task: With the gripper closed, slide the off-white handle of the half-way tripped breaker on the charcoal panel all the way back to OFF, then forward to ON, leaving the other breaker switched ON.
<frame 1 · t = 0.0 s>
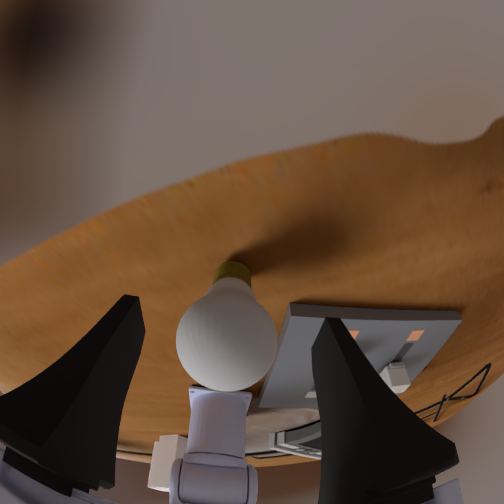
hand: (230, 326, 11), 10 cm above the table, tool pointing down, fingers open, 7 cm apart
light bulb: (233, 267, 22), on the table
breaker tripped: (394, 379, 26), point 3 cm above the table, slide at 3.0 cm
alarm clock: (331, 428, 44), on the table
white chamfered block: (178, 443, 49), on the table
panel: (355, 363, 29), on the table
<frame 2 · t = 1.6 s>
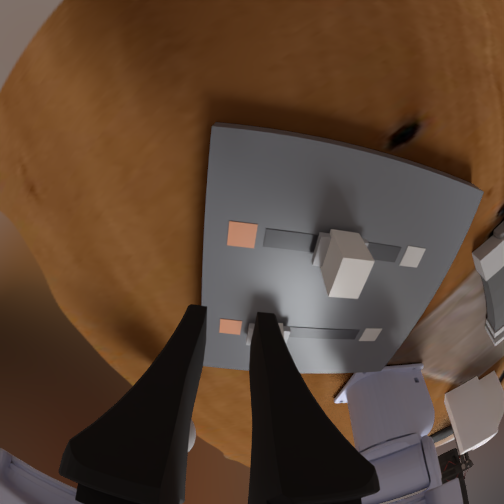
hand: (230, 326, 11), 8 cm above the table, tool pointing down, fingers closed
microphone: (441, 432, 53), on the table
breaker tripped: (344, 263, 15), point 3 cm above the table, slide at 3.0 cm
white chamfered block: (468, 387, 36), on the table
breaker on: (268, 348, 20), point 3 cm above the table, slide at 6.0 cm
panel: (329, 282, 20), on the table
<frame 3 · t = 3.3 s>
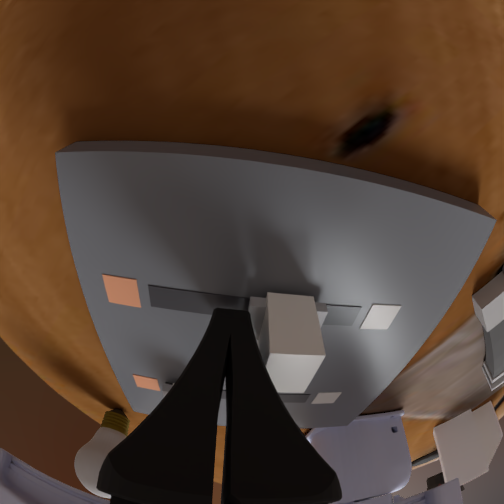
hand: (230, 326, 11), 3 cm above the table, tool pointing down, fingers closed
light bulb: (119, 408, 23), on the table
microphone: (432, 453, 48), on the table
breaker tripped: (286, 344, 10), point 3 cm above the table, slide at 1.9 cm, touching gripper
white chamfered block: (461, 418, 31), on the table
breaker on: (186, 414, 14), point 3 cm above the table, slide at 6.0 cm
panel: (264, 341, 15), on the table
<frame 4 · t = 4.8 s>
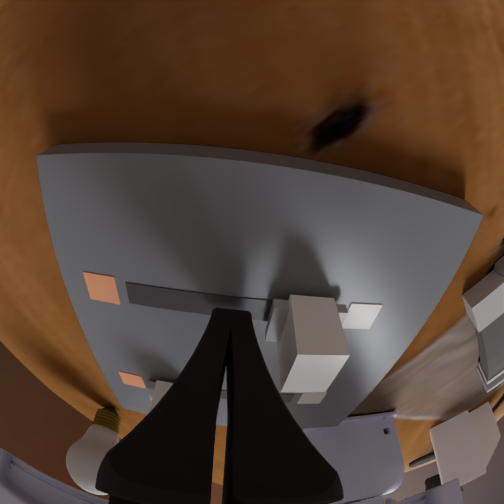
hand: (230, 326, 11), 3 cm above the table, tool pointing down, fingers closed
light bulb: (111, 406, 23), on the table
microphone: (431, 454, 48), on the table
breaker tripped: (308, 345, 10), point 3 cm above the table, slide at -0.1 cm
white chamfered block: (458, 419, 31), on the table
breaker on: (169, 411, 14), point 3 cm above the table, slide at 6.0 cm
panel: (245, 339, 15), on the table
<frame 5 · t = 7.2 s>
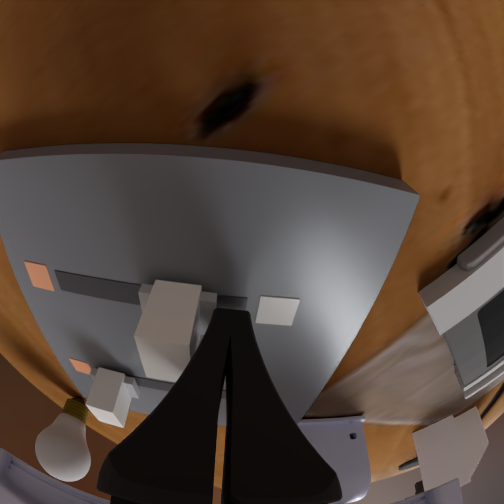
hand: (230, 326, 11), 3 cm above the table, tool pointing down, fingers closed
light bulb: (80, 397, 23), on the table
microphone: (421, 457, 47), on the table
breaker tripped: (172, 332, 10), point 3 cm above the table, slide at 1.2 cm, touching gripper
white chamfered block: (444, 423, 30), on the table
breaker on: (110, 398, 14), point 3 cm above the table, slide at 6.0 cm
panel: (175, 331, 15), on the table
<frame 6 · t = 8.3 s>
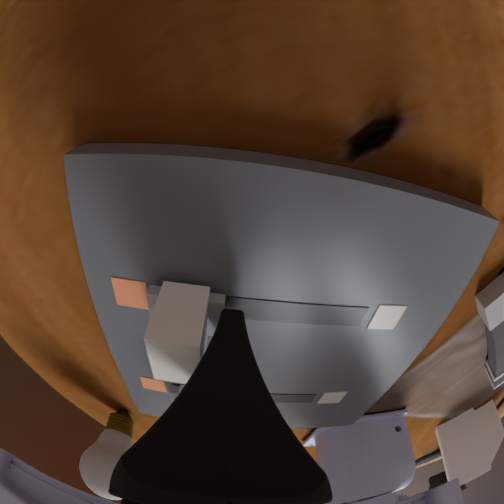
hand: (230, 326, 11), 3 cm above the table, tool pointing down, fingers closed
light bulb: (124, 410, 23), on the table
microphone: (434, 452, 48), on the table
breaker tripped: (181, 334, 10), point 3 cm above the table, slide at 6.2 cm, touching gripper
white chamfered block: (463, 417, 31), on the table
breaker on: (193, 415, 14), point 3 cm above the table, slide at 6.0 cm
panel: (271, 342, 15), on the table
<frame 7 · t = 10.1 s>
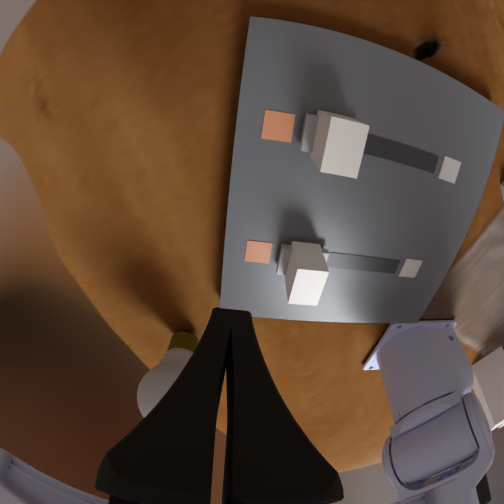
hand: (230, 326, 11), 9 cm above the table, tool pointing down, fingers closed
light bulb: (187, 332, 26), on the table
microphone: (458, 418, 50), on the table
breaker tripped: (336, 141, 13), point 3 cm above the table, slide at 6.1 cm
white chamfered block: (492, 361, 33), on the table
breaker on: (304, 273, 17), point 3 cm above the table, slide at 6.0 cm
panel: (366, 200, 18), on the table
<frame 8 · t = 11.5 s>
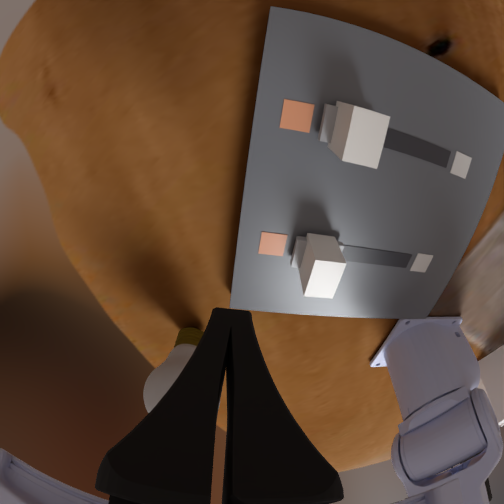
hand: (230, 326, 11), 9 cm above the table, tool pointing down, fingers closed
light bulb: (194, 328, 25), on the table
breaker tripped: (356, 132, 12), point 3 cm above the table, slide at 6.1 cm
white chamfered block: (494, 359, 33), on the table
breaker on: (320, 265, 17), point 3 cm above the table, slide at 6.0 cm
panel: (380, 194, 17), on the table
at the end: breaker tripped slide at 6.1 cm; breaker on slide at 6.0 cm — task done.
